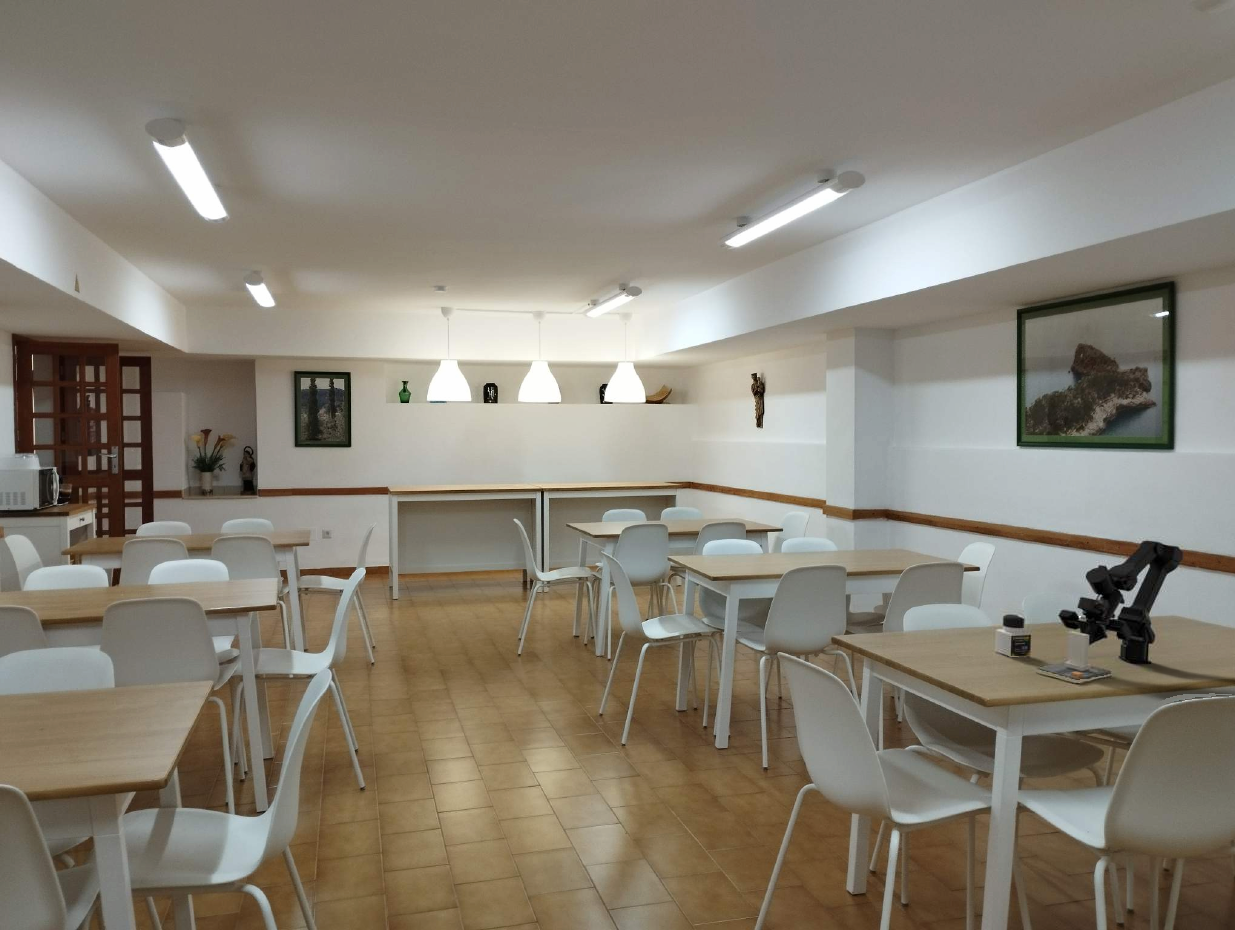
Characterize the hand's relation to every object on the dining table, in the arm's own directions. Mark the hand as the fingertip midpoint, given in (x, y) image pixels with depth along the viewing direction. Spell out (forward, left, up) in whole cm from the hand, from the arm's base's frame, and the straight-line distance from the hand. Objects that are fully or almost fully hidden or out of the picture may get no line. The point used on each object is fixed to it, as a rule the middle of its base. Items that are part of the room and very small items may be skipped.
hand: (1081, 647), depth 251 cm
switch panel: (+3, +2, -7) cm, 8 cm away
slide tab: (+1, +1, -6) cm, 6 cm away
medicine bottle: (+10, -20, -8) cm, 24 cm away
